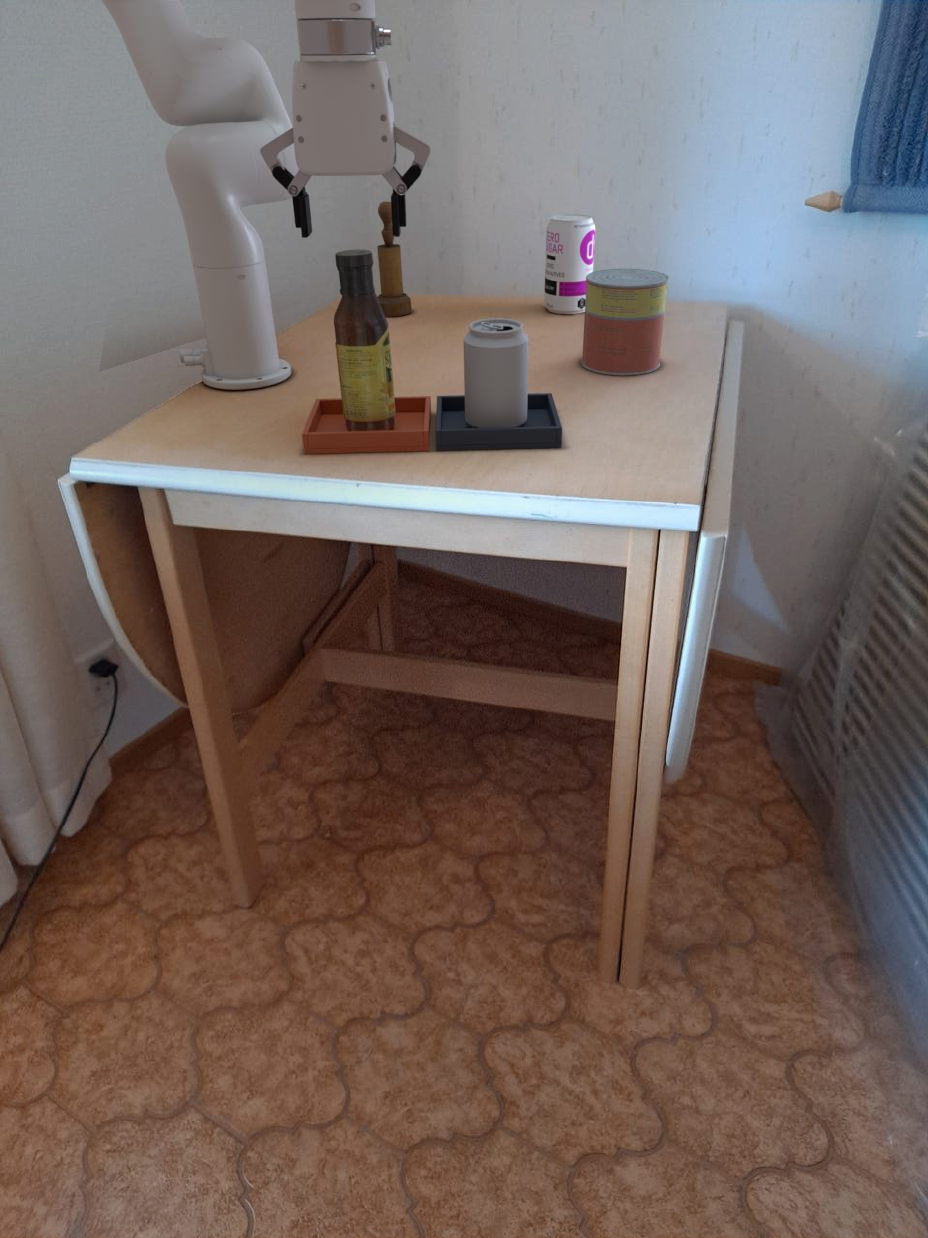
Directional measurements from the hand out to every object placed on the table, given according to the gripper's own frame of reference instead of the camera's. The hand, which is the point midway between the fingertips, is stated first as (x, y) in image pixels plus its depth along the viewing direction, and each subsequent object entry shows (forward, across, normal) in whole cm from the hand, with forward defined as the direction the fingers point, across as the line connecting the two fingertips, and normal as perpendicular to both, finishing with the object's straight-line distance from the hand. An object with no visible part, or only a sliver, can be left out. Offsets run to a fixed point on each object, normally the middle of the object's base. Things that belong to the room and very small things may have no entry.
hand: (352, 234), depth 93 cm
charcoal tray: (+22, -16, +1) cm, 27 cm away
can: (+22, -16, +1) cm, 27 cm away
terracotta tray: (+22, -1, +1) cm, 22 cm away
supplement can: (+23, -31, -58) cm, 69 cm away
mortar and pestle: (+23, 0, -59) cm, 63 cm away
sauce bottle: (+22, -1, +1) cm, 22 cm away
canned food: (+22, -35, -25) cm, 48 cm away
